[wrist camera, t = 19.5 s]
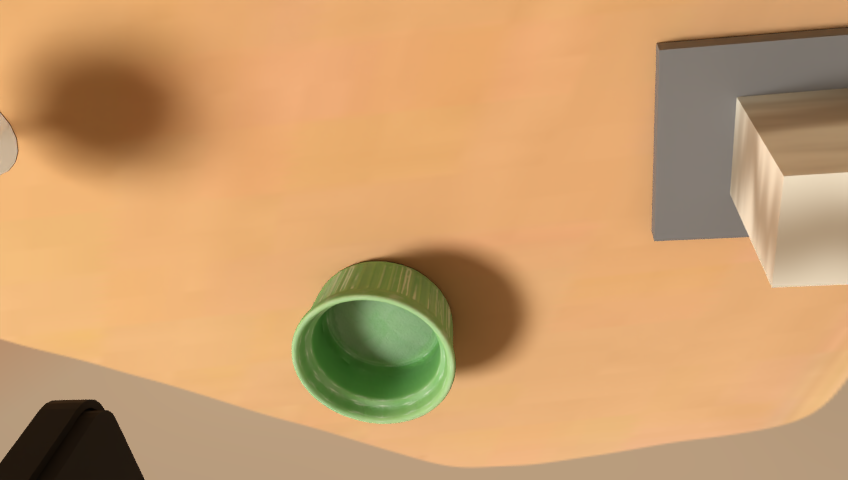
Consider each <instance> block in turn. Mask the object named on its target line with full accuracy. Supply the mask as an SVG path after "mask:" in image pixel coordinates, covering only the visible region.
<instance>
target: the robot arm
mask: <svg viewBox="0 0 848 480" xmlns="http://www.w3.org/2000/svg"><path fill="white" fill-rule="evenodd" d="M0 480H144V477H143V475H142V474H141V471H140V469H139V467H138V465H137V463H136V461H135V459H134V457H133V454H132V452H131V450H130V448H129V446H128V444H127V442H126V439H125V437H124V435H123V433H122V431H121V429H120V427H119V425H118V423H117V421H116V419H115V417H114V415H113V414H112V413H111V412H109V411H107V410H104V408H103V407H102V405H101V404H100V403H99V402H97V401H96V400H59V401H50V402H49V403H46V404H45V405H44V406H43V407H42V408H41V409H40V410H39V412H38V413H37V414H36V416H35V417H34V418H33V420H32V421H31V422H30V424H29V425H28V426H27V428H26V429H25V430H24V432H23V433H22V434H21V436H20V437H19V439H18V440H17V441H16V443H15V444H14V445H13V447H12V448H11V449H10V451H9V452H8V453H7V455H6V456H5V457H4V459H3V460H2V462H1V463H0Z"/></svg>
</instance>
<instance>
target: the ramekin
mask: <svg viewBox="0 0 848 480" xmlns="http://www.w3.org/2000/svg"><path fill="white" fill-rule="evenodd" d="M292 360H293V365H294V368H295V371H296V373H297V375H298V377H299V379H300V381H301V382H302V384H303V385H304V387H305V388H306V389H307V390H308V391H309V393H310V394H311V395H312V396H313V397H314V398H316V399H317V400H318V401H319V402H321V403H322V404H323V405H325V406H326V407H328V408H329V409H331V410H333V411H335V412H337V413H339V414H341V415H343V416H346V417H349V418H352V419H355V420H359V421H363V422H369V423H377V424H391V423H400V422H405V421H409V420H413V419H415V418H418V417H421V416H423V415H425V414H427V413H428V412H430V411H431V410H433V409H434V408H435V407H437V406H438V405H439V404H440V403H441V402H442V401H443V400H444V398H445V397H446V396H447V394H448V392H449V391H450V389H451V386H452V384H453V381H454V377H455V370H456V360H455V353H454V349H453V322H452V314H451V311H450V307H449V305H448V302H447V300H446V298H445V297H444V296H443V294H442V292H441V291H440V290H439V289H438V288H437V286H436V285H435V284H434V283H433V282H431V281H430V280H429V279H428V278H427V277H425V276H424V275H423V274H421V273H420V272H418V271H416V270H414V269H412V268H410V267H407V266H404V265H401V264H397V263H391V262H384V261H370V262H363V263H359V264H355V265H352V266H350V267H347V268H345V269H343V270H341V271H340V272H338V273H337V274H336V275H334V276H333V277H332V278H331V279H330V280H329V281H328V282H327V283H326V284H325V285H324V287H323V288H322V290H321V291H320V293H319V295H318V296H317V298H316V300H315V302H314V304H313V306H312V308H311V309H310V310H309V311H308V312H307V313H306V315H305V316H304V317H303V318H302V320H301V321H300V323H299V325H298V326H297V328H296V331H295V333H294V336H293V341H292Z"/></svg>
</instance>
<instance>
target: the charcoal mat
mask: <svg viewBox="0 0 848 480" xmlns="http://www.w3.org/2000/svg"><path fill="white" fill-rule="evenodd" d="M843 88H848V27H846V28H834V29H822V30H810V31H798V32H786V33H774V34H762V35H750V36H738V37H726V38H714V39H702V40H690V41H678V42H666V43H657V46H656V85H655V124H654V163H653V202H652V234H653V238H654V241H667V240H690V239H713V238H736V237H749V235H748V233H747V231H746V229H745V226H744V224H743V222H742V220H741V217H740V215H739V213H738V211H737V208H736V206H735V204H734V202H733V200H732V197H731V195H730V187H731V172H732V158H733V144H734V129H735V115H736V101H737V97H744V96H756V95H769V94H781V93H794V92H806V91H818V90H831V89H843Z"/></svg>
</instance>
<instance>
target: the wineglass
mask: <svg viewBox="0 0 848 480" xmlns="http://www.w3.org/2000/svg"><path fill="white" fill-rule="evenodd" d="M17 152H18V149H17V142H16V137H15V135H14V133H13V131H12V128H11V126H10V124H9V123H8V122H7V121H6V119H5V118H4V117H3V116H2V114H1V113H0V175H1V174H3V173H5V172H7V171H9V169H10V168H11V167H12V166H13V164H14V163H15V161H16V156H17Z"/></svg>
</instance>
